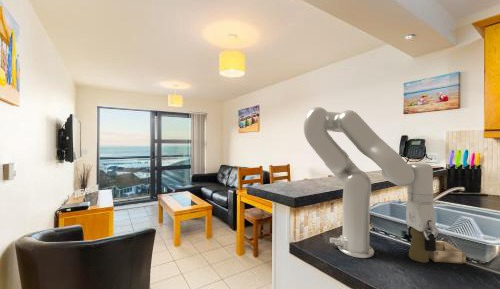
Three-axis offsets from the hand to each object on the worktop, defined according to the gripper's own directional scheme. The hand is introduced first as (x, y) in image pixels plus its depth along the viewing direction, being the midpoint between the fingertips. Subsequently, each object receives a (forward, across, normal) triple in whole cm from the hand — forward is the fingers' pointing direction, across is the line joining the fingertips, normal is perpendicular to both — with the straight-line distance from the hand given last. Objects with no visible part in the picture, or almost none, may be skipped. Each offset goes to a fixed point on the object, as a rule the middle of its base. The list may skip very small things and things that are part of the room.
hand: (421, 244), depth 82 cm
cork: (+5, 0, -1) cm, 5 cm away
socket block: (+5, -3, +8) cm, 10 cm away
